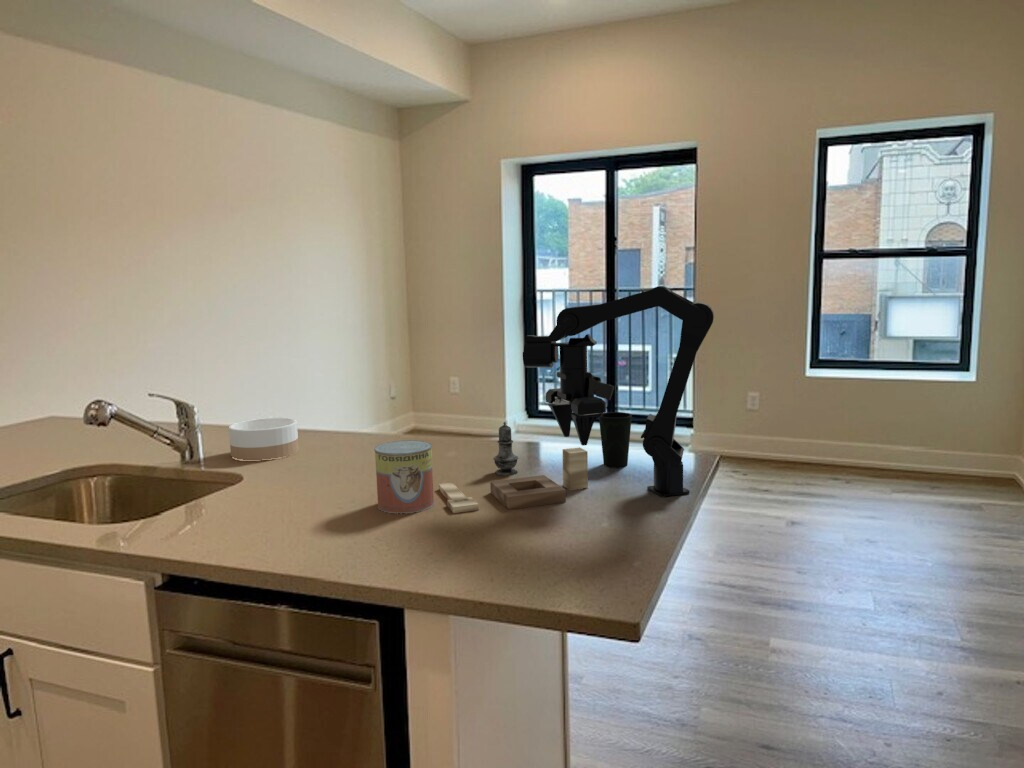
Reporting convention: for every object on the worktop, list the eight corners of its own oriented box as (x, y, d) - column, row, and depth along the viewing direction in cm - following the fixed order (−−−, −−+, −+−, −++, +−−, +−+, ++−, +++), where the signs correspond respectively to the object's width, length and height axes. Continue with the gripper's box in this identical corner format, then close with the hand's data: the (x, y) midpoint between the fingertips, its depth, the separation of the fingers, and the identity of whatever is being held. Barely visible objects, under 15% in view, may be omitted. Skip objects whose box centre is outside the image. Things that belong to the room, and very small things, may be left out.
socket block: (565, 501, 144) (565, 489, 144) (508, 509, 140) (508, 496, 140) (544, 486, 155) (543, 474, 155) (490, 492, 152) (490, 481, 151)
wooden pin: (587, 488, 153) (587, 451, 152) (570, 490, 152) (569, 453, 151) (580, 483, 157) (579, 447, 156) (563, 485, 156) (562, 449, 155)
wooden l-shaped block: (478, 509, 141) (478, 504, 140) (453, 513, 139) (453, 507, 139) (456, 487, 157) (456, 481, 156) (434, 489, 155) (434, 484, 155)
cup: (631, 460, 175) (630, 411, 173) (633, 468, 167) (632, 417, 166) (598, 460, 176) (598, 412, 174) (599, 468, 168) (599, 418, 167)
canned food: (380, 516, 138) (376, 455, 137) (375, 500, 149) (372, 443, 147) (438, 510, 141) (436, 450, 140) (429, 494, 152) (427, 438, 150)
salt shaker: (516, 476, 164) (514, 424, 162) (490, 475, 165) (489, 424, 163) (521, 469, 170) (519, 419, 168) (496, 469, 171) (495, 419, 169)
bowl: (216, 460, 188) (213, 429, 186) (257, 445, 204) (255, 416, 203) (273, 464, 183) (271, 431, 181) (311, 448, 199) (309, 418, 198)
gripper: (629, 369, 145) (630, 445, 147) (590, 360, 162) (591, 429, 164) (578, 373, 141) (579, 451, 143) (543, 364, 159) (545, 434, 161)
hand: (575, 440), depth 153 cm, fingers open, 9 cm apart
